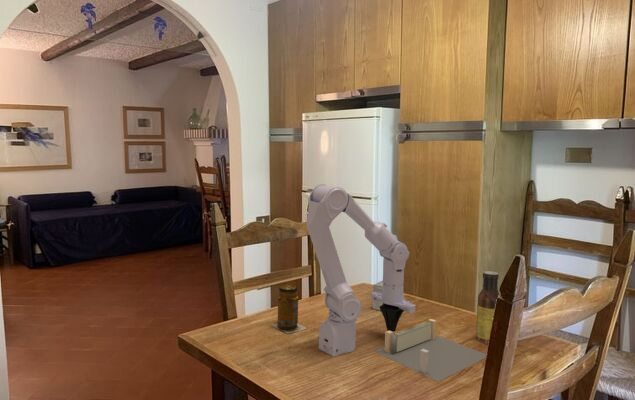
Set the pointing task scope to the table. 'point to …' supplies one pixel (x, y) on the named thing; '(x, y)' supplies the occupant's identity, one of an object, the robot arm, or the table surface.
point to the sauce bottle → (486, 305)
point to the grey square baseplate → (433, 355)
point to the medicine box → (378, 288)
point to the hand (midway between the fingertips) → (391, 330)
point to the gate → (411, 337)
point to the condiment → (288, 310)
